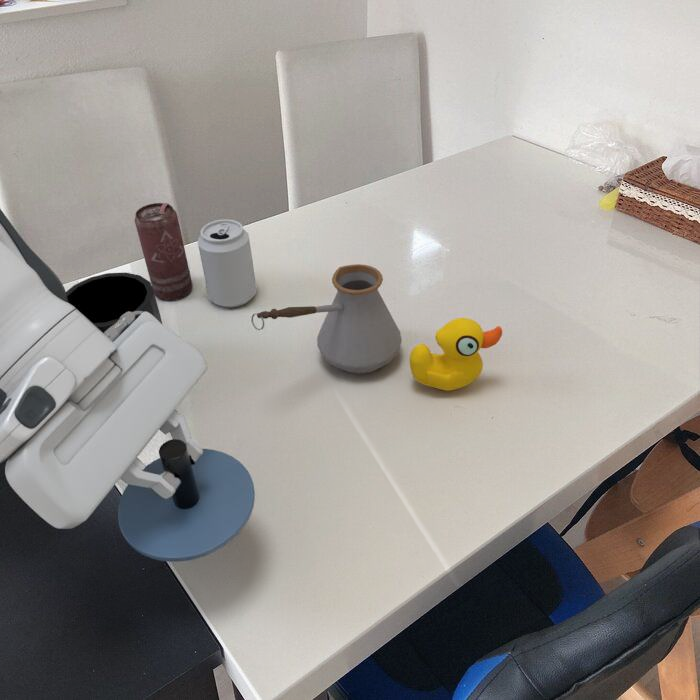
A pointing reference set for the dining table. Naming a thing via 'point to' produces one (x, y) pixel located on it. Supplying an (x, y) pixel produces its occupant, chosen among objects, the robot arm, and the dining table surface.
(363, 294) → the coffee pot
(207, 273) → the can
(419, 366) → the duckling
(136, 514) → the lid
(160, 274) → the can
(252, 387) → the dining table surface
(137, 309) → the cup
